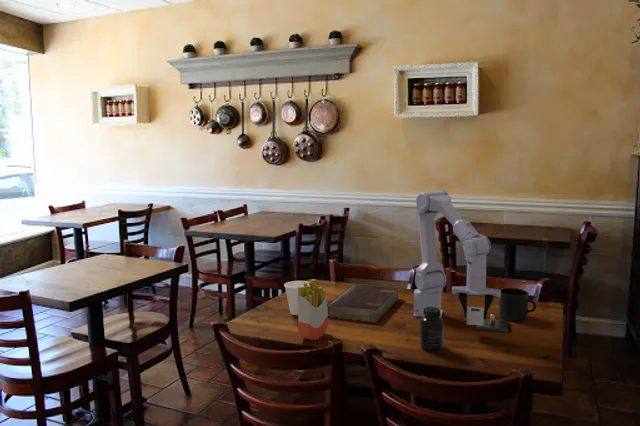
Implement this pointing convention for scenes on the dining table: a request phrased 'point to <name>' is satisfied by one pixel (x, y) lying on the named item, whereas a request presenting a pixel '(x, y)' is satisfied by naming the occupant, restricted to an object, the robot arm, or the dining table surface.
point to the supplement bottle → (431, 330)
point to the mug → (514, 304)
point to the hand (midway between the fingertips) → (475, 317)
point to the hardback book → (363, 302)
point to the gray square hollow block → (475, 316)
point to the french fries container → (312, 311)
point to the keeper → (494, 324)
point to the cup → (293, 294)
